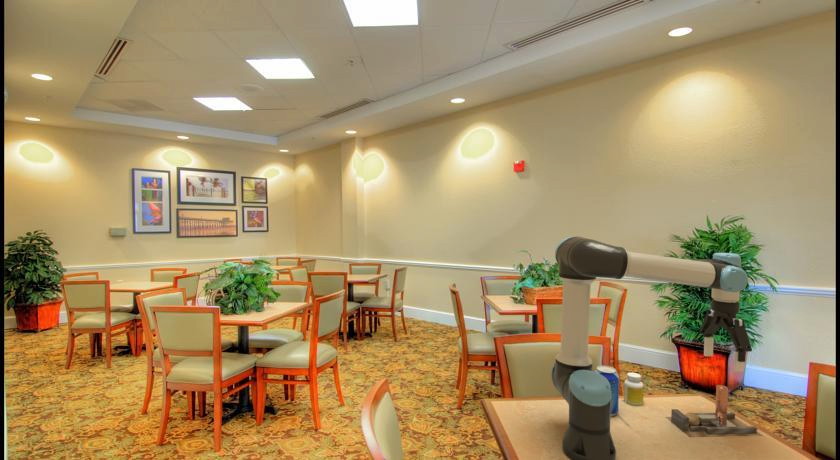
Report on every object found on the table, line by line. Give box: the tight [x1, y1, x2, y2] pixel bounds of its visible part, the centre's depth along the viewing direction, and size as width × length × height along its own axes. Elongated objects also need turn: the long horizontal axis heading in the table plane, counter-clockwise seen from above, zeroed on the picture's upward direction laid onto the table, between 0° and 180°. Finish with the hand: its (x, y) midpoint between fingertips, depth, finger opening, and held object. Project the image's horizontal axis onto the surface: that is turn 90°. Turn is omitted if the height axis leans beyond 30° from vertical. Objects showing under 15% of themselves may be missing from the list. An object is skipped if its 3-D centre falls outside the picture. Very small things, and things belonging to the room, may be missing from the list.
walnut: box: [684, 412, 700, 426], centre depth 142 cm, size 4×4×4 cm
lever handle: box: [697, 384, 736, 427], centre depth 142 cm, size 10×7×13 cm
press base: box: [665, 408, 764, 438], centre depth 142 cm, size 24×13×6 cm, turn 92°
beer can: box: [594, 365, 620, 418], centre depth 154 cm, size 8×8×16 cm
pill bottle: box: [623, 372, 645, 407], centre depth 159 cm, size 6×6×12 cm
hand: (722, 363), depth 141 cm, fingers open, 13 cm apart
